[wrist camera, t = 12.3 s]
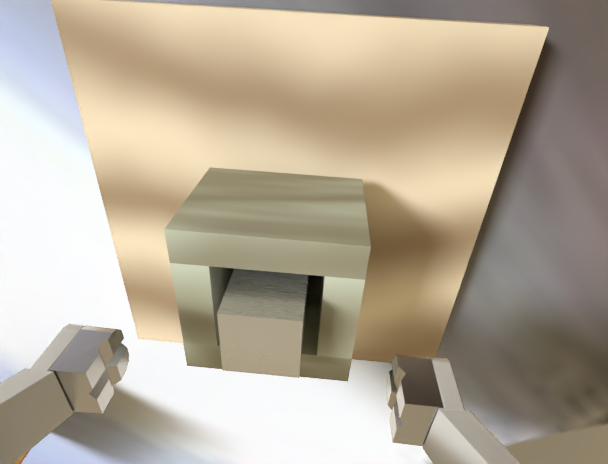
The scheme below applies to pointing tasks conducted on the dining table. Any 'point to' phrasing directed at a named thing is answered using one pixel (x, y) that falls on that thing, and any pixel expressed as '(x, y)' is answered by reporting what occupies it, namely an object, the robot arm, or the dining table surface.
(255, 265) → the collar
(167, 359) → the dining table surface
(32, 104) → the dining table surface
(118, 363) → the robot arm
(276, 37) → the shaft board
